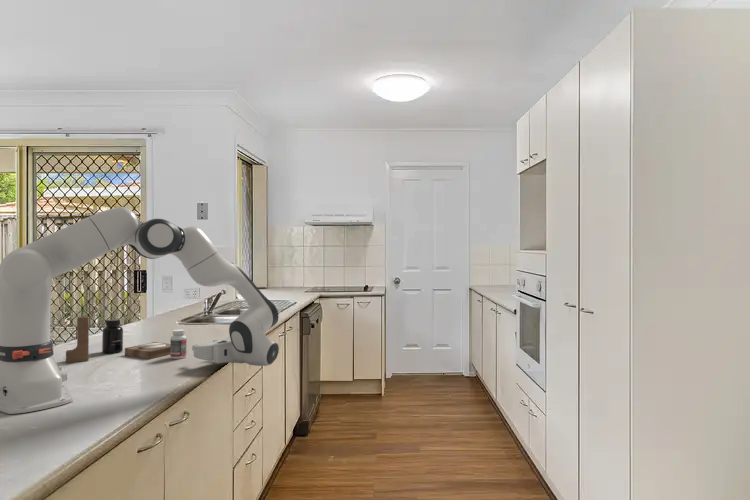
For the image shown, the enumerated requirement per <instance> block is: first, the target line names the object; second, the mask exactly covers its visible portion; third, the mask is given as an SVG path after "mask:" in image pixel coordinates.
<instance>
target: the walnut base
mask: <svg viewBox="0 0 750 500" xmlns="http://www.w3.org/2000/svg"><path fill="white" fill-rule="evenodd" d="M170 347H171V343H165V342H157V341H153V342H148V343H143V344H138V345H134V346H129V347H124V356H128V357H132V358H134V357H135V358H141V359H147V360H152V359H156V358H161V357H165V356H169V355H170Z"/></svg>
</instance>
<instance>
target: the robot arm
mask: <svg viewBox="0 0 750 500" xmlns="http://www.w3.org/2000/svg"><path fill="white" fill-rule="evenodd" d="M124 245H128V246H129V247H130V248H132V249H133V250H134V251H135V252H136V253H137V254H138V255H140V256H142V257H143V258H146V259H150V260H152V259H153V260H155V259H159V258H162V257H166V256H167V255H172V256H174V257H176V258H177V259H178V260H179V261H180V262H181V263H182V266H183V267H184V269H185V270H186V272H187V273H188V274H189V276H190V278H191V279H192V280H193V281H194V282H195V283H196V284H198V285H199V286H203V287H208V288H209V287H218V286H223V285H224V286H225V285H227V286H230V287H232V288H234V289H235V290H236V292H237V293H238V294H239V295H240V297H242V298H243V299H244V300H245V302H246V303H247V304H248V308H247V309H246V310H245V311H244V312H242V313H241V314H239V316H238V317H236V318H235V319H234V320H233V321H232V322H231V323H230V324H229V327H228V334H229V336H228V337H226V338H224V339H220V340H219V339H214V340H212V341H211V342H207V343H203V344H193V345H192V347H191V350H192V352H193V357H194V358H195V359H199V360H204V361H210V362H212V361H213V363H214V364H227V363H231V364H235V363H236V364H247V365H250V366H254V367H255V366H256V367H257V366H258V367H265V366H266V367H267V366H270V365H272V364H273V363H274V362H275V360H277V358H278V356H279V353H280V352H279V351H280V349H279V348H280V346H279V344H278V343H277V342H276V341H275V340H272V339H270V338H269V337H268V336H267V335H266V332H268V331H269V330H270V329H272V328H274V326H276V325H277V323H278V322H279V318H280V317H279V310H278V308H277V306H276V305H275V303H273V302H272V301H271V300H270V299H268V297H266V296H265V294H263V292H262V291H261V290H260V289H259V288H258V287H257V285H256V284H255V283H254V282H253V281H252V280H251V278H250V277H249V276H248V275H247V274H246V273H245V272H244V271H243V269H242V268H241V267H240V266H239V265H237V264H236V263H234V262H230V261H228V260H227V259H226V258H224V257H223V256H222V254H221V252H220V251H219V250H218V248H217V247H216V246H215V244H214V243H213V241H212V240H211V239H210V238H209V236H208V235H207V234H206V233H205V232H204V231H203V230H202V229H200V227H197V226H187V227H184V228H182V227H180V226H178V225H176V224H174V223H172V222H171V221H169V220H166V219H164V218H152V219H149V220H147V221H142V220H141V219H139V217H137V215H136V213H135V212H134V211H133V210H131V209H130V208H128V207H125V206H117V207H114V208H110V209H106V210H102V211H100V212H98V213H94V214H92V215H90V216H88V217H86V218H84V219H81V220H79V221H77V222H75V223H72V224H70V225H68V226H65V227H64V228H61V229H59V230H57V231H54V232H53V233H50V234H48V235H46V236H43V237H42V238H39V239H36V240H35V241H32V242H30V243H28V244H26V245H25V244H24V245H23V246H21V247H20V248H16V249H15V250H12V251H10V252H9V253H8V254H7V255H6V256H5V257H3V259H2V260H1V262H0V412H2V413H4V414H8V415H15V414H23V413H24V414H25V413H29V412H36V411H40V410H41V411H42V410H46V409H51V408H54V407H55V408H56V407H59V406H62V405H66V404H69V403H71V402H73V399H74V398H73V396H72V395H71V393H70V391H69V389H68V387H67V386H66V385H65V384H63V383H64V382H67V381H68V372H62V367H63V366H61V365H59V366H58V362H57V359H56V358H54V354H55V353H54V345H53V340H52V339H51V311H52V310H51V309H52V284H53V283H52V281H53V279H55V278H57V277H59V276H61V275H63V274H66V273H68V272H70V271H73V270H75V269H77V268H79V267H81V266H84V265H85V264H87V263H90V262H92V261H94V260H96V259H98V258H99V257H102V256H104V255H105V254H108V253H109V252H111V251H114V250H116V249H118V248H120V247H122V246H124Z"/></svg>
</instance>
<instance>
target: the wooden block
mask: <svg viewBox="0 0 750 500" xmlns="http://www.w3.org/2000/svg"><path fill="white" fill-rule="evenodd" d="M89 318H90V317H89V315H88V316H77V319H76V320H77V322H76V323H77V324H76V325H77V326H76V327H77V328H76V329H77V330H76V331H77V332H76V333H77V335H76V337H77V338H76V339H77V340H76V347H75V348H72V349H67V350H66V351H65V363H66V364H69V363H79V362H89V356H90V355H89V353H90V352H89V347H90V346H89V343H90V342H89V340H90V339H89V337H90V336H89V335H90V333H89V332H90V331H89V328H90V327H89V325H90V324H89V322H90V321H89V320H90V319H89Z"/></svg>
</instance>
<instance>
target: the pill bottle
mask: <svg viewBox="0 0 750 500" xmlns="http://www.w3.org/2000/svg"><path fill="white" fill-rule="evenodd" d="M185 332H186V331H185V329H182V328H181V329H173V330H172V336H171V337H170V344H171V347H170V359H174V360H176V359H177V360H178V359H185V358H186V357H187V338H188V337H187V336H186V335H185Z"/></svg>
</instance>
